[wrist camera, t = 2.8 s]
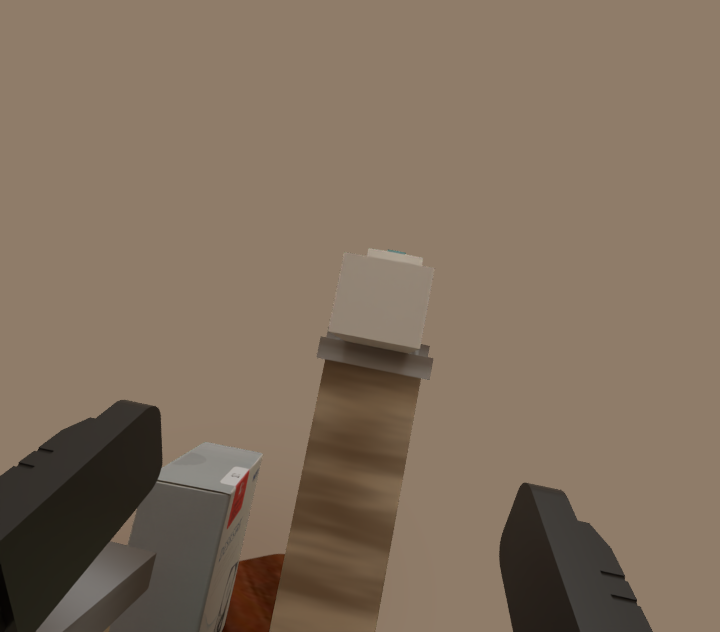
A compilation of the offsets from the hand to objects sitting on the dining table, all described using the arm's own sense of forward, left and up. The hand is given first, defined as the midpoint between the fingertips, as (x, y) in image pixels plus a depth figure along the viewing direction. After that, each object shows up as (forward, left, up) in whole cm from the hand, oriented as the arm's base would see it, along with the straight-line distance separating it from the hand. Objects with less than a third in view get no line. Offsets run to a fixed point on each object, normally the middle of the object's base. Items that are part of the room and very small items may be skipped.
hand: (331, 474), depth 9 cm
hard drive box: (-29, +21, -31) cm, 47 cm away
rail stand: (-13, +22, -30) cm, 40 cm away
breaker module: (-10, +18, +4) cm, 21 cm away
